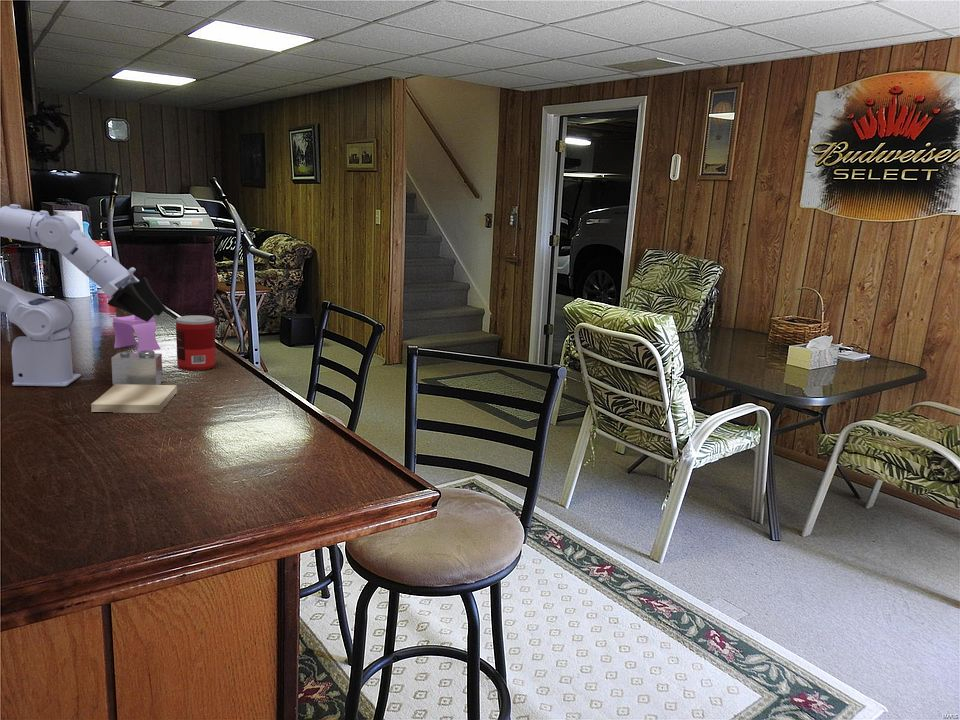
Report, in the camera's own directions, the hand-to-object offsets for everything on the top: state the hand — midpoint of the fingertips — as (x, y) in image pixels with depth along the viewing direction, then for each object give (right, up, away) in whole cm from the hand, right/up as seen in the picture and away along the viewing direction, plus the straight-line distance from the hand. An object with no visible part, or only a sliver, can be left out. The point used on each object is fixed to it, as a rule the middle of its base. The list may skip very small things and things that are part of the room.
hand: (156, 315), depth 136 cm
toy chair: (-19, -6, +31) cm, 37 cm away
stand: (0, -17, -9) cm, 19 cm away
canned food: (0, -11, +18) cm, 21 cm away
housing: (-5, -14, +2) cm, 15 cm away
